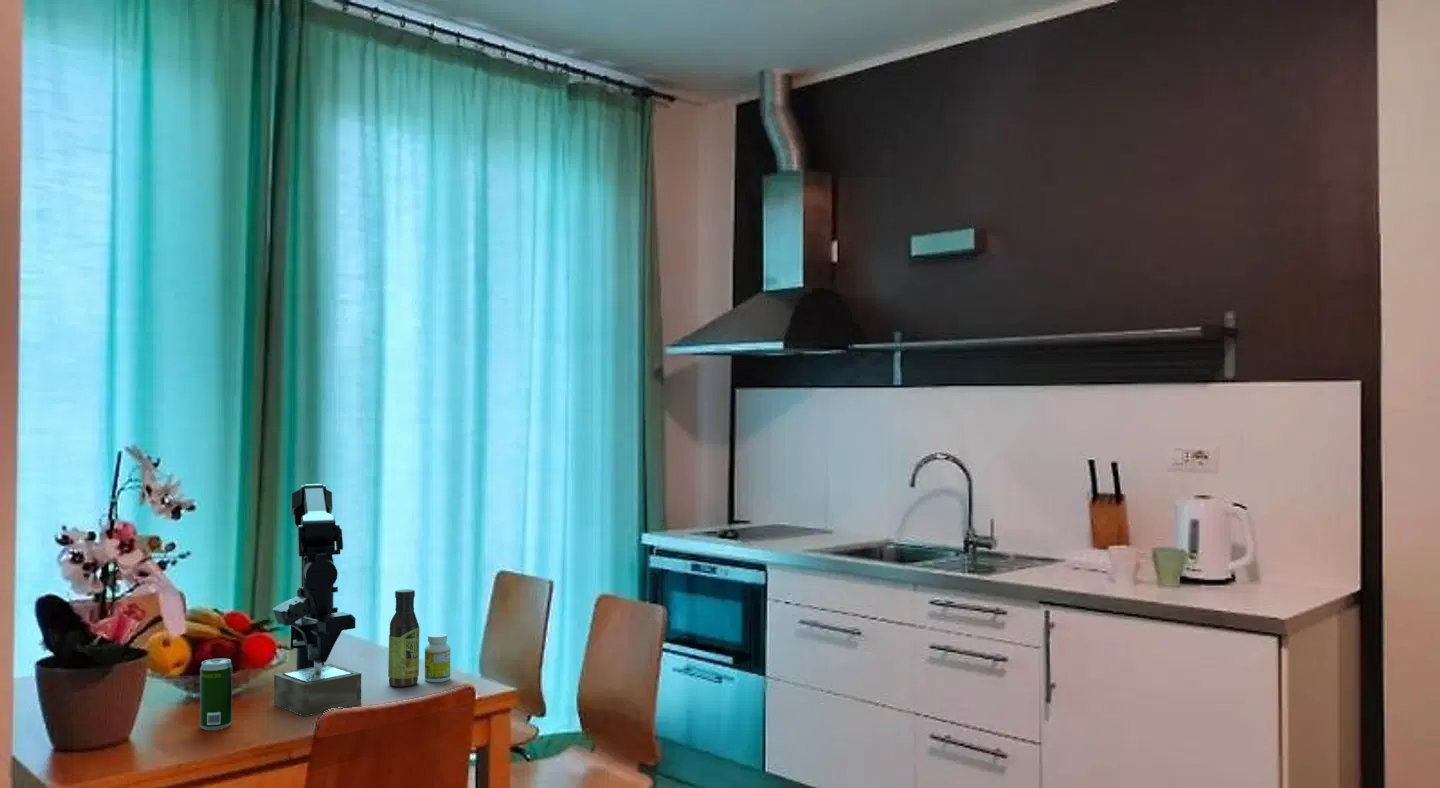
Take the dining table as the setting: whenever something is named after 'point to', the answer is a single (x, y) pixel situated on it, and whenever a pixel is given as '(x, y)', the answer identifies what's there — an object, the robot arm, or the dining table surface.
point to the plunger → (316, 668)
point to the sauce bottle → (404, 642)
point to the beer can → (215, 694)
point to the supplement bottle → (437, 658)
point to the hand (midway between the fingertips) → (317, 660)
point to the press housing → (317, 692)
